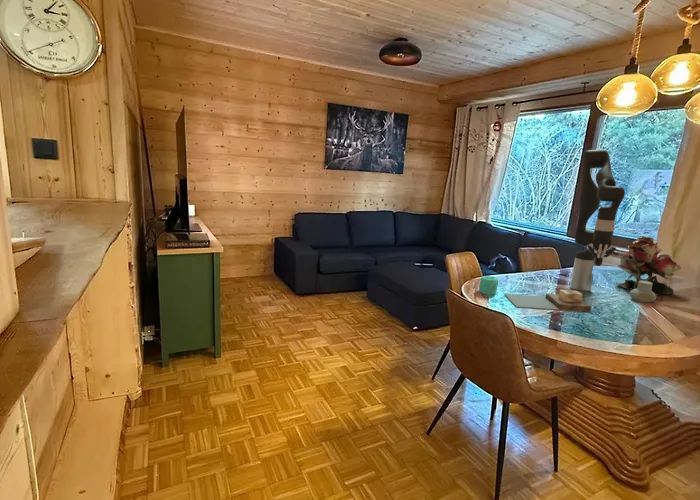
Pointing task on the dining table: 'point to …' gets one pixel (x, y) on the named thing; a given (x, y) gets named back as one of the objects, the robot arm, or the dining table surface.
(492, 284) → the green cylinder
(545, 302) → the slate mat
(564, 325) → the dining table surface
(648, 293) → the air freshener
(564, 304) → the walnut board
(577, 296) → the beech block
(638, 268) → the rose bouquet
